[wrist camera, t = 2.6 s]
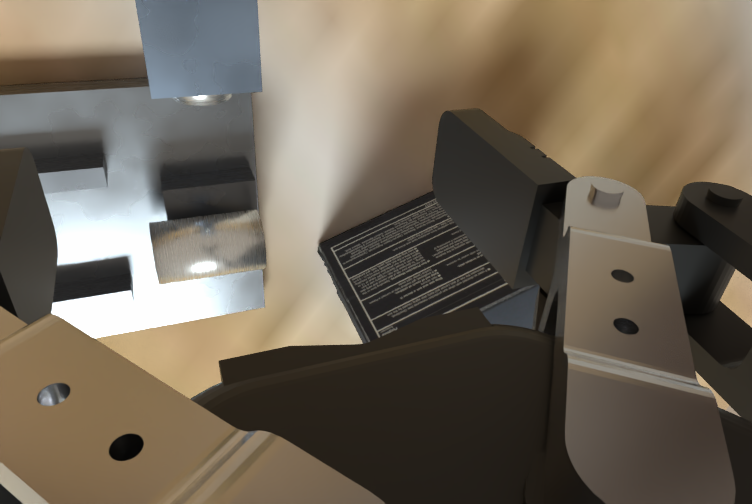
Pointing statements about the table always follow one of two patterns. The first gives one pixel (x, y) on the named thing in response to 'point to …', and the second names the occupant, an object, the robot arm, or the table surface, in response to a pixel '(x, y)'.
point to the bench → (143, 201)
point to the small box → (418, 272)
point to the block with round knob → (200, 49)
